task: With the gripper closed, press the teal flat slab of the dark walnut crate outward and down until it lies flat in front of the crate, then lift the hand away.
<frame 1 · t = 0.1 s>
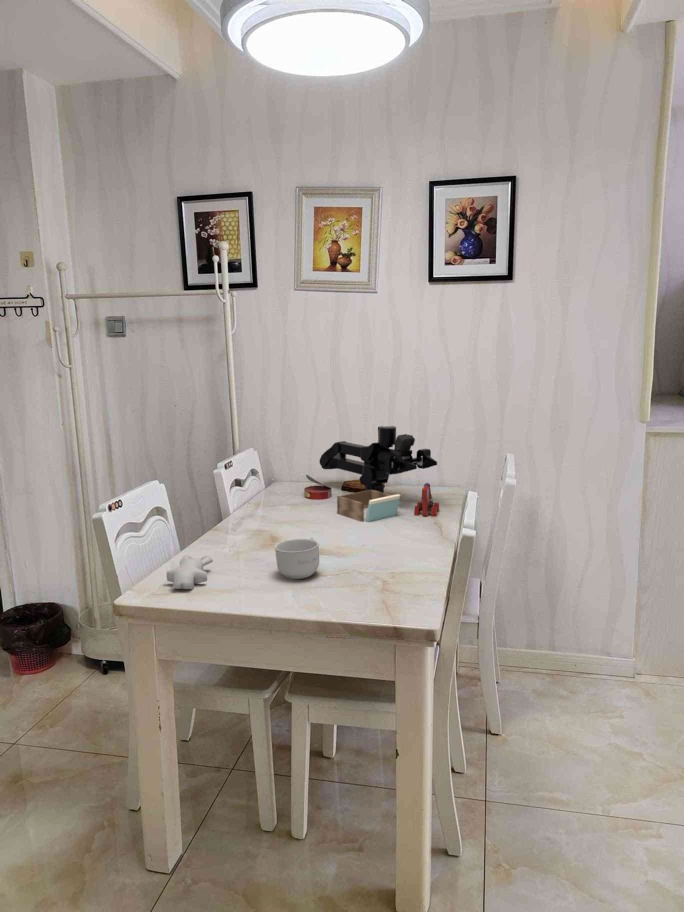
hand: (426, 465, 215), 17 cm above the table, tool horizontal, fingers open, 9 cm apart
crate: (382, 522, 211), on the table
teacup: (301, 573, 168), on the table
bunny figurine: (190, 581, 163), on the table
canned food: (318, 497, 245), on the table
toy fire truck: (426, 517, 218), on the table
teal flat slab: (383, 507, 210), point 5 cm above the table, hinge at 15.0°
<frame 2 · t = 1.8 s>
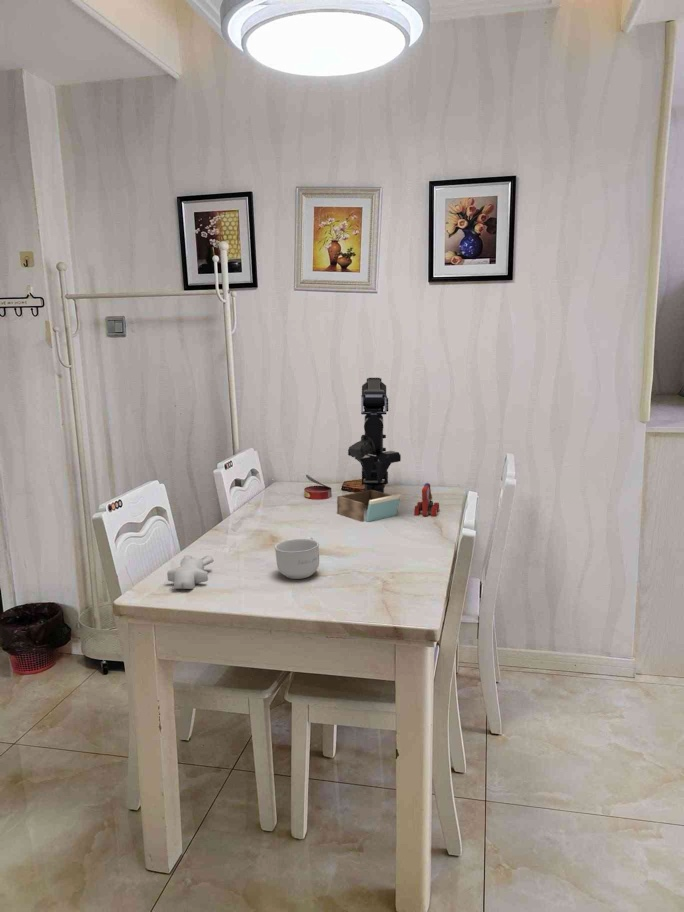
hand: (373, 481, 211), 13 cm above the table, tool pointing down, fingers open, 5 cm apart
nothing on the table moved.
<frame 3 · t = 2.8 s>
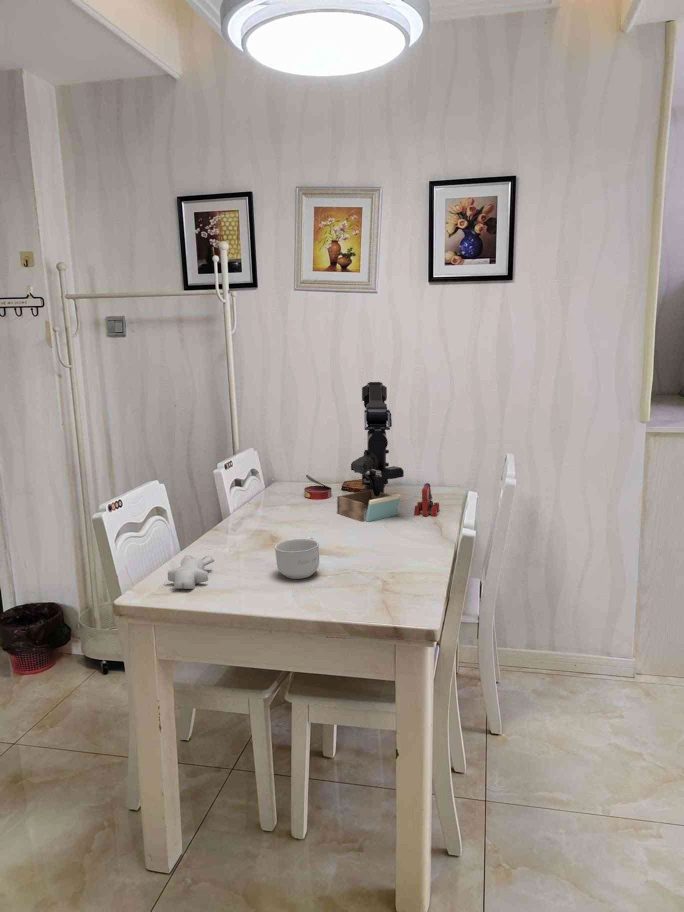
hand: (376, 496, 211), 8 cm above the table, tool pointing down, fingers closed
nothing on the table moved.
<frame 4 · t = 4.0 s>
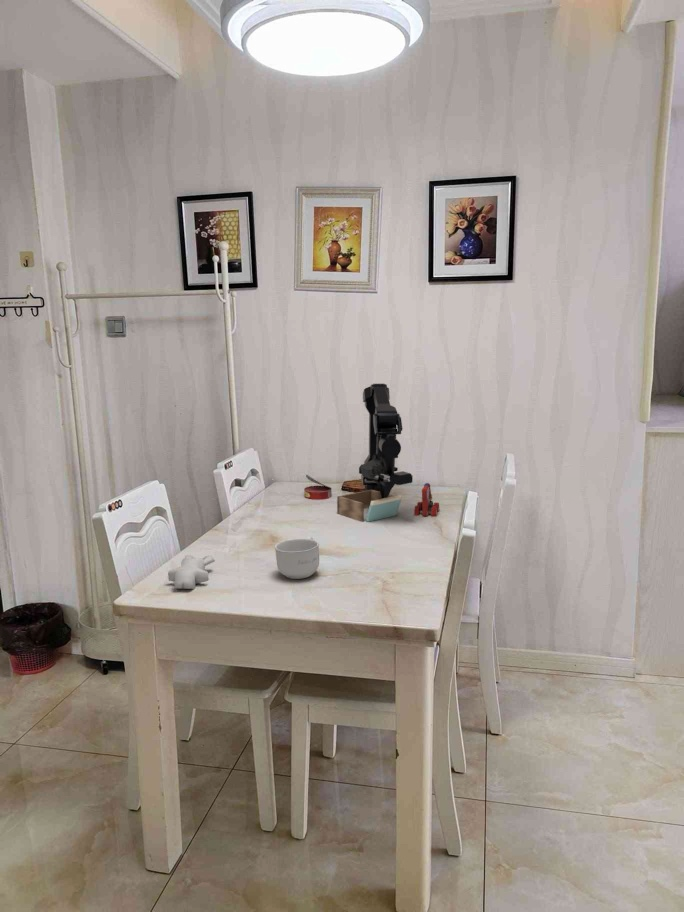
hand: (384, 500, 208), 7 cm above the table, tool pointing down, fingers closed, pressing on teal flat slab
teal flat slab: (383, 508, 209), point 5 cm above the table, hinge at 21.4°, touching gripper
everything else where it was.
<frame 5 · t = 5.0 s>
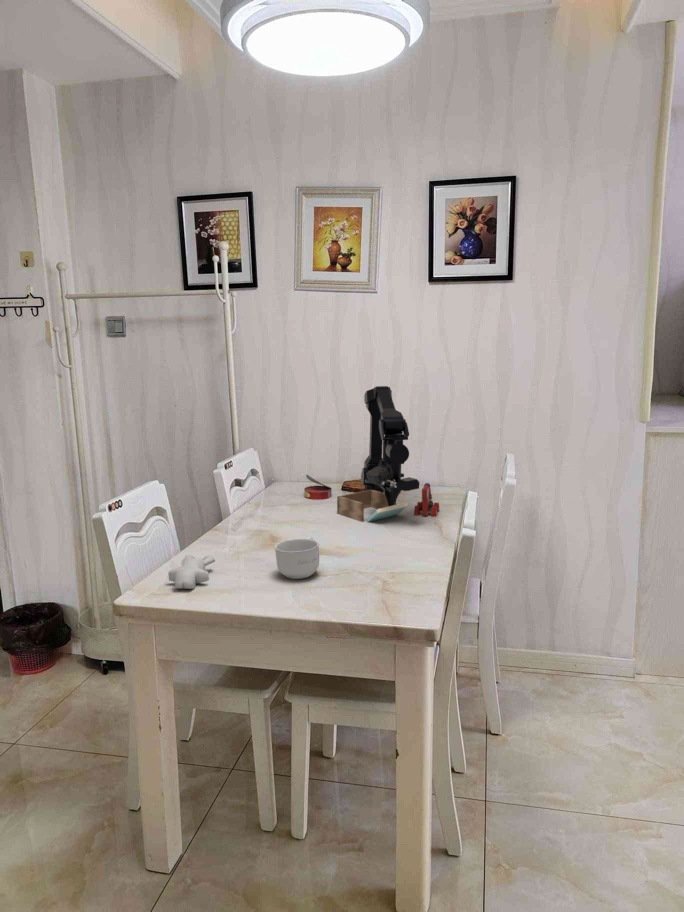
hand: (390, 507, 206), 6 cm above the table, tool pointing down, fingers closed, pressing on teal flat slab
teal flat slab: (387, 512, 208), point 4 cm above the table, hinge at 51.5°, touching gripper
everything else where it was.
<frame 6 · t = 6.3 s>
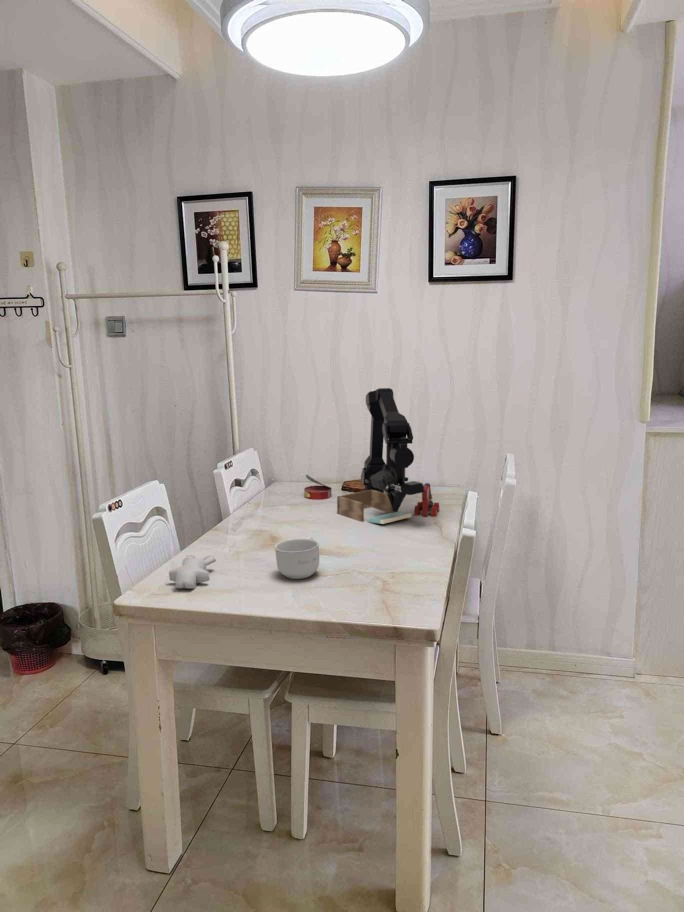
hand: (395, 511, 205), 5 cm above the table, tool pointing down, fingers closed
teal flat slab: (389, 517, 208), point 2 cm above the table, hinge at 82.3°
everything else where it was.
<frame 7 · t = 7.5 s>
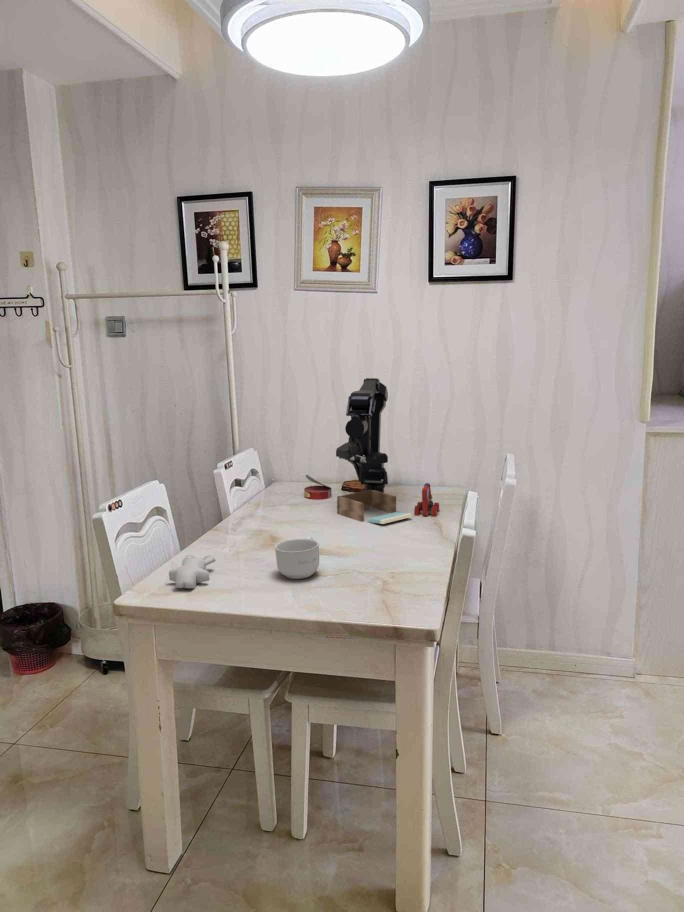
hand: (361, 481, 213), 12 cm above the table, tool pointing down, fingers closed
nothing on the table moved.
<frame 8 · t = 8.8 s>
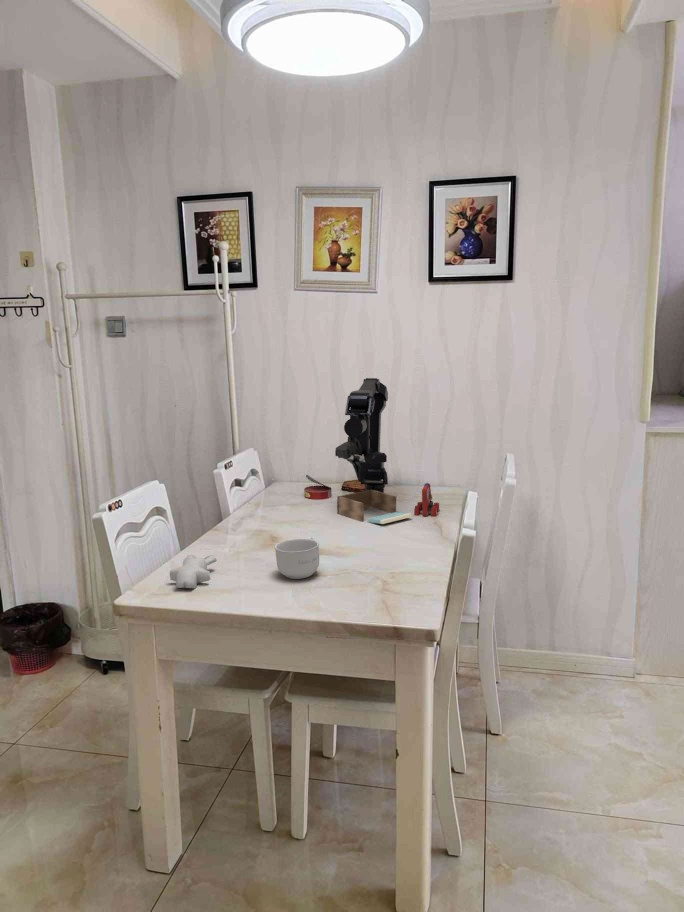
hand: (360, 481, 213), 12 cm above the table, tool pointing down, fingers closed
nothing on the table moved.
at the end: teal flat slab at +82° (first picture: +15°) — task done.
